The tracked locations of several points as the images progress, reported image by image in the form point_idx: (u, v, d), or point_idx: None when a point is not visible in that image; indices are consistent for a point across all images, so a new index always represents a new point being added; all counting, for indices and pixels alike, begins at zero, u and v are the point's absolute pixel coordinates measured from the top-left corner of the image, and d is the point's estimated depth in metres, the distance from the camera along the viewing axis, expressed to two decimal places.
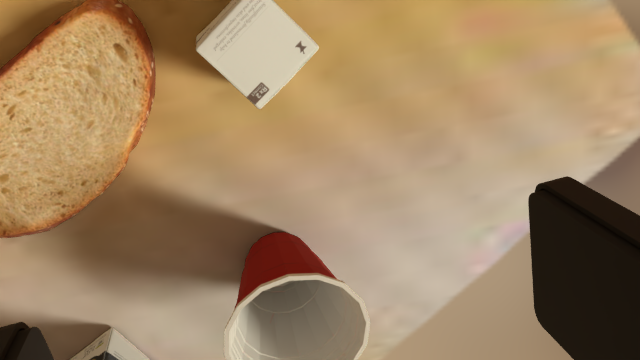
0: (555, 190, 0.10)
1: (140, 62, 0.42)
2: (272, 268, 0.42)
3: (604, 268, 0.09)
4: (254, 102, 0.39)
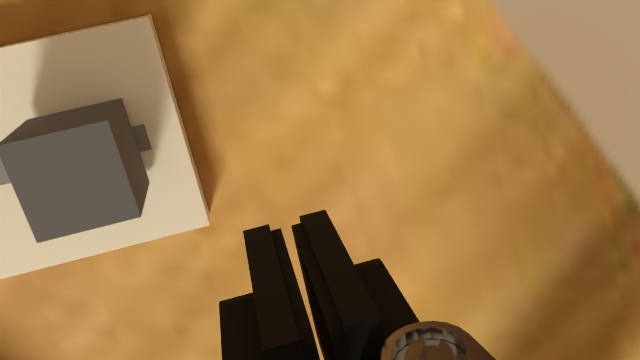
0: (305, 223, 0.11)
1: None
2: None
3: (315, 301, 0.09)
4: None
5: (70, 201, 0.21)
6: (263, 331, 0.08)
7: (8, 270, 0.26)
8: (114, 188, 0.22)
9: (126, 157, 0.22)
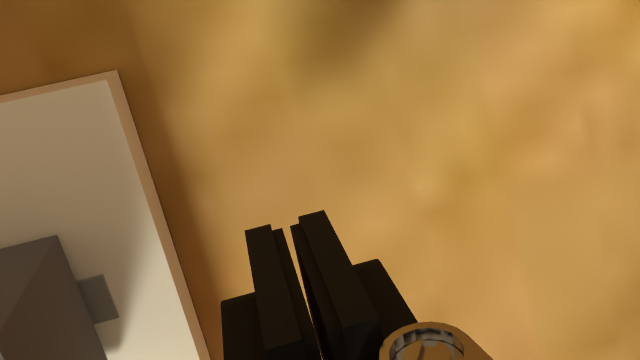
0: (304, 224, 0.11)
1: None
2: None
3: (313, 301, 0.09)
4: None
5: None
6: (265, 331, 0.08)
7: None
8: None
9: None
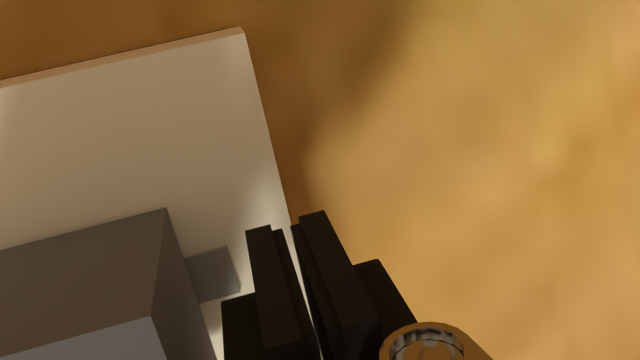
0: (304, 224, 0.11)
1: None
2: None
3: (313, 301, 0.09)
4: None
5: None
6: (265, 331, 0.08)
7: None
8: None
9: None
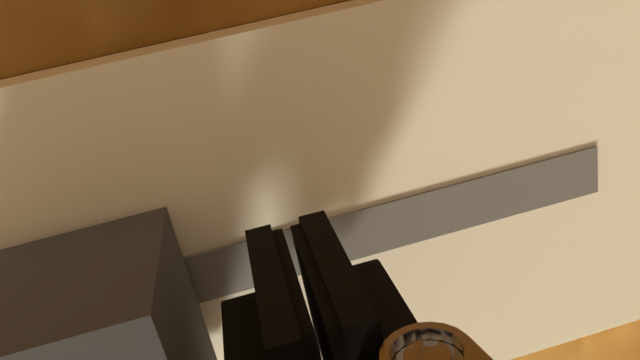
0: (304, 224, 0.11)
1: None
2: None
3: (313, 301, 0.09)
4: None
5: None
6: (265, 331, 0.08)
7: None
8: None
9: None
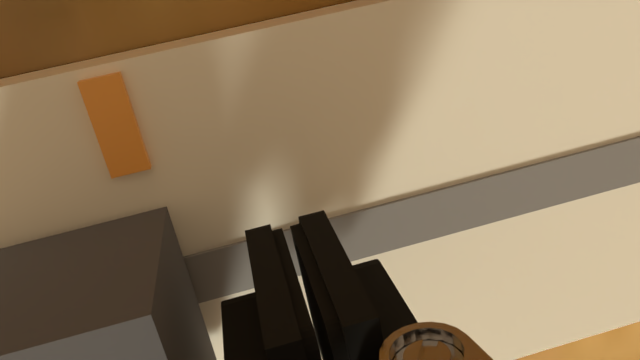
0: (304, 224, 0.11)
1: None
2: None
3: (313, 301, 0.09)
4: None
5: None
6: (265, 331, 0.08)
7: (498, 354, 0.15)
8: None
9: None
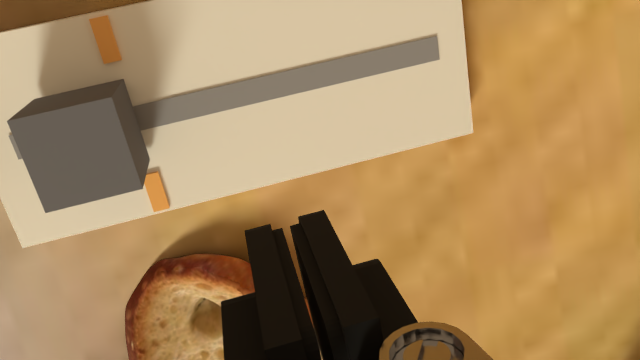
0: (304, 224, 0.11)
1: None
2: None
3: (313, 301, 0.09)
4: None
5: (76, 174, 0.23)
6: (265, 331, 0.08)
7: (304, 170, 0.30)
8: (117, 161, 0.23)
9: (128, 133, 0.24)
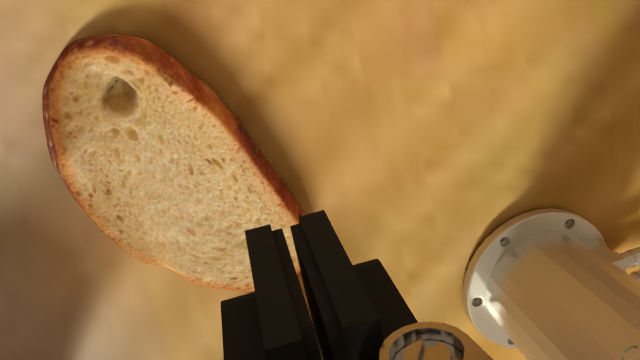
0: (304, 224, 0.11)
1: None
2: None
3: (313, 302, 0.09)
4: None
5: None
6: (265, 331, 0.08)
7: None
8: None
9: None
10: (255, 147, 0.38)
